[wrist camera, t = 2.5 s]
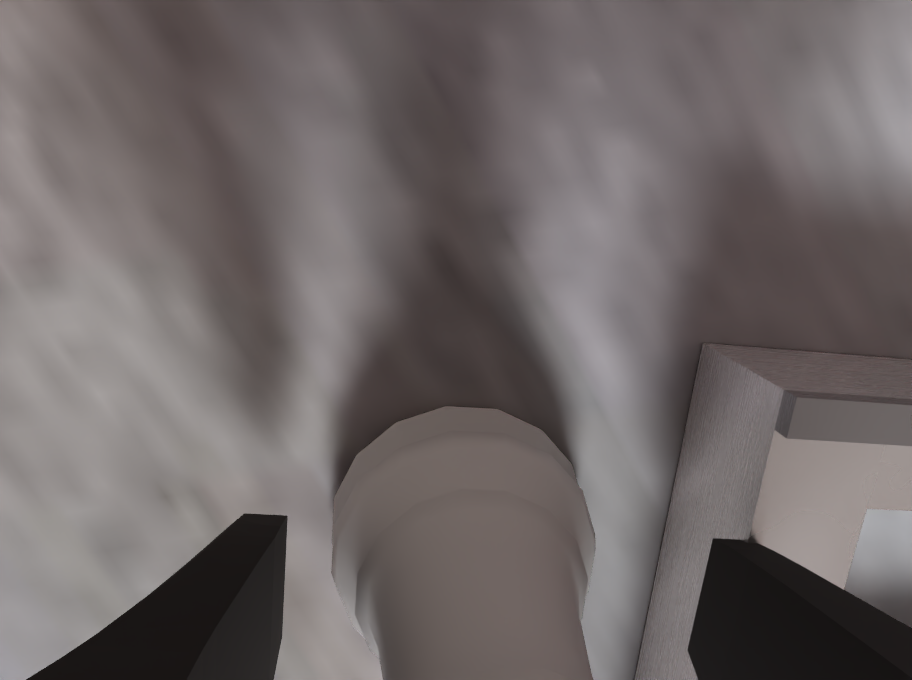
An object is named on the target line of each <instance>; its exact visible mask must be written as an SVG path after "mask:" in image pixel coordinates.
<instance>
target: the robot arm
mask: <svg viewBox="0 0 912 680" xmlns="http://www.w3.org/2000/svg"><path fill="white" fill-rule="evenodd" d="M286 536H287V516H281V515H262V514H243V515H242V516H241V517H240V518H239V519H237V520H236V521H235V522H234V523H233V524H231V525H230V526H229V527H228V528H227V529H226V530H224V531H223V532H222V533H221V534H220V535H219V536H218V537H216V538H215V539H214V540H213V541H212V542H211V543H210V544H209V545H207V546H206V547H205V548H204V549H203V550H202V551H201V552H199V553H198V554H197V555H196V556H195V557H194V558H193V559H191V560H190V561H189V562H188V563H187V564H186V565H184V566H183V567H182V568H181V569H180V570H178V571H177V572H176V573H175V574H174V575H172V576H171V577H170V578H169V579H167V580H166V581H165V582H164V583H163V584H161V585H160V586H159V587H158V588H157V589H155V590H154V591H153V592H152V593H150V594H149V595H148V596H147V597H145V598H144V599H143V600H142V601H140V602H139V603H138V604H136V605H135V606H134V607H132V608H131V609H130V610H128V611H127V612H126V613H124V614H123V615H121V616H120V617H119V618H117V619H116V620H115V621H113V622H112V623H111V624H109V625H108V626H107V627H105V628H104V629H103V630H101V631H100V632H99V633H97V634H96V635H94V636H93V637H92V638H90V639H89V640H87V641H86V642H84V643H83V644H81V645H80V646H78V647H77V648H75V649H74V650H72V651H71V652H69V653H68V654H66V655H65V656H63V657H62V658H60V659H59V660H57V661H55V662H54V663H52V664H51V665H49V666H47V667H46V668H44V669H43V670H41V671H39V672H38V673H36V674H35V675H33V676H31V677H30V678H28V679H26V680H273V679H274V675H275V669H276V664H277V659H278V654H279V649H280V644H281V639H282V624H283V602H284V580H285V558H286ZM687 651H688V653H689V656H690V659H691V661H692V664H693V667H694V670H695V672H696V675H697V678H698V680H912V628H910V627H908V626H906V625H905V624H903V623H901V622H899V621H897V620H896V619H894V618H892V617H890V616H889V615H887V614H885V613H883V612H882V611H880V610H878V609H876V608H875V607H873V606H871V605H869V604H868V603H866V602H864V601H862V600H861V599H859V598H857V597H855V596H854V595H852V594H850V593H848V592H847V591H845V590H843V589H841V588H840V587H838V586H836V585H834V584H833V583H831V582H829V581H828V580H826V579H824V578H822V577H821V576H819V575H817V574H815V573H814V572H812V571H810V570H808V569H807V568H805V567H803V566H801V565H799V564H798V563H796V562H794V561H792V560H790V559H788V558H787V557H785V556H783V555H781V554H779V553H777V552H775V551H773V550H771V549H769V548H767V547H765V546H763V545H761V544H758V543H747V542H745V541H743V540H740V539H721V538H713V540H712V544H711V549H710V553H709V558H708V562H707V566H706V571H705V575H704V579H703V584H702V588H701V593H700V597H699V601H698V606H697V610H696V614H695V619H694V623H693V628H692V632H691V636H690V641H689V645H688V649H687Z"/></svg>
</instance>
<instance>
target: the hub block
mask: <svg viewBox="0 0 912 680" xmlns="http://www.w3.org/2000/svg"><path fill="white" fill-rule="evenodd" d="M867 509H884V510H904V511H912V359H899V358H886V357H873V356H861V355H848V354H835V353H823V352H810V351H797V350H785V349H772V348H759V347H747V346H734V345H721V344H709V343H703V344H702V349H701V354H700V359H699V364H698V369H697V374H696V379H695V384H694V389H693V394H692V399H691V404H690V409H689V413H688V418H687V423H686V428H685V433H684V438H683V443H682V448H681V453H680V458H679V463H678V468H677V473H676V477H675V482H674V487H673V492H672V497H671V502H670V507H669V512H668V517H667V522H666V527H665V532H664V537H663V542H662V546H661V551H660V556H659V561H658V566H657V571H656V576H655V581H654V586H653V591H652V596H651V601H650V606H649V610H648V615H647V620H646V625H645V630H644V635H643V640H642V645H641V650H640V655H639V660H638V665H637V670H636V675H635V679H634V680H698V678H697V675H696V672H695V670H694V667H693V664H692V661H691V659H690V656H689V653H688V651H687V649H688V645H689V641H690V636H691V632H692V628H693V623H694V619H695V614H696V610H697V606H698V601H699V597H700V593H701V588H702V584H703V579H704V575H705V571H706V566H707V562H708V558H709V553H710V549H711V544H712V540H713V538H721V539H740V540H743V541H745V542H747V543H758V544H761V545H763V546H765V547H767V548H769V549H771V550H773V551H775V552H777V553H779V554H781V555H783V556H785V557H787V558H788V559H790V560H792V561H794V562H796V563H798V564H799V565H801V566H803V567H805V568H807V569H808V570H810V571H812V572H814V573H815V574H817V575H819V576H821V577H822V578H824V579H826V580H828V581H829V582H831V583H833V584H834V585H836V586H838V587H840V588H841V589H843V590H844V587H845V584H846V580H847V577H848V573H849V570H850V566H851V563H852V559H853V556H854V552H855V549H856V545H857V542H858V538H859V535H860V531H861V528H862V524H863V521H864V517H865V514H866V510H867Z"/></svg>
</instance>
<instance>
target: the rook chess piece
mask: <svg viewBox="0 0 912 680" xmlns="http://www.w3.org/2000/svg"><path fill="white" fill-rule="evenodd" d="M332 545H333V551H332V571H331V573H332V576H333V579H334V582H335V585H336V588H337V590H338V592H339V595H340V597H341V599H342V602H343V604H344V607H345V609H346V611H347V614H348V616H349V618H350V621H351V623H352V625H353V628H354V629H355V630H356V631H357V632H358V633H360V634H361V635H362V636H363V637H364V638H365V640H366V642H367V645H368V647H369V649H370V651H371V652H372V653H373V654H374V655H375V656H376V657H377V658H379V659H380V664H381V670H382V676H383V680H593V677H592V674H591V669H590V664H589V660H588V655H587V650H586V645H585V641H584V636H583V631H582V626H581V619H582V616H583V610H584V603H585V597H586V596H587V594H588V592H589V586H590V580H591V574H592V568H593V561H594V555H595V549H596V547H595V533H594V529H593V526H592V522H591V519H590V515H589V512H588V508H587V504H586V501H585V497H584V494H583V490H582V489H581V488H580V487H579V486H578V483H577V480H576V476H575V473H574V469H573V466H572V464H571V463H570V462H569V460H568V459H567V458H566V457H565V456H564V455H563V454H562V452H561V451H560V450H559V449H558V448H557V447H556V445H555V444H554V443H553V442H552V441H551V440H550V439H549V437H548V436H547V435H546V434H545V433H544V432H543V431H542V430H541V429H539V428H537V427H535V426H533V425H531V424H528V423H526V422H524V421H522V420H520V419H518V418H516V417H514V416H511V415H509V414H507V413H505V412H503V411H501V410H499V409H490V408H471V407H453V406H445V407H442V408H439V409H435V410H432V411H429V412H426V413H423V414H420V415H417V416H414V417H411V418H408V419H405V420H402V421H399V422H396V423H395V424H393V425H392V426H391V427H390V428H388V429H387V430H386V431H385V432H384V433H382V434H381V435H380V436H379V437H378V438H376V439H375V440H374V441H373V442H371V443H370V444H369V445H368V446H367V447H365V448H364V449H363V450H362V451H361V452H359V453H358V454H357V455H356V457H355V459H354V461H353V462H352V464H351V466H350V468H349V470H348V472H347V474H346V476H345V478H344V480H343V482H342V483H341V485H340V487H339V489H338V491H337V493H336V495H335V497H334V509H333V529H332Z"/></svg>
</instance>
